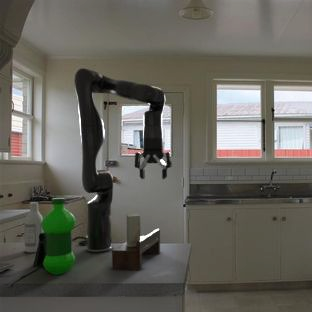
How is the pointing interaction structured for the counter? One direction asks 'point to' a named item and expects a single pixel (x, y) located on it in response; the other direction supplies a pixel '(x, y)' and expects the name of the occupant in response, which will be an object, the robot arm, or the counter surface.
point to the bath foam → (33, 228)
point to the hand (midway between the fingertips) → (153, 178)
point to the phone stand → (40, 251)
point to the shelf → (135, 252)
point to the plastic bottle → (58, 238)
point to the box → (133, 229)
